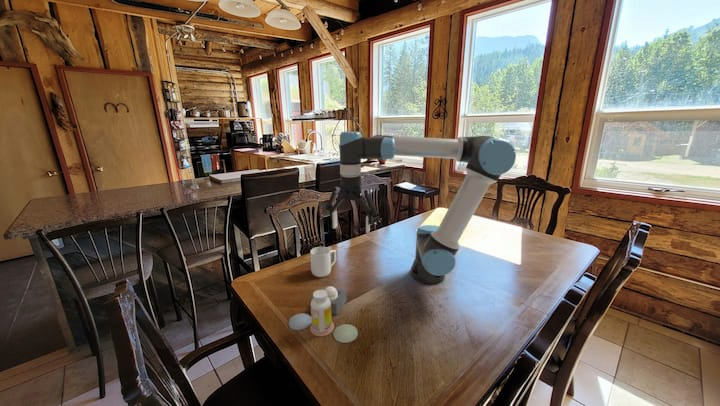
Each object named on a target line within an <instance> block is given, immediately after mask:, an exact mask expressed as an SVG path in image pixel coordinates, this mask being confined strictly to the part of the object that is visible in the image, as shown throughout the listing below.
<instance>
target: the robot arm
mask: <svg viewBox="0 0 720 406" xmlns="http://www.w3.org/2000/svg"><path fill="white" fill-rule="evenodd" d="M361 134H362V133H361V132H360V131H351V130H350V131H342V132H341V133H339V175H340V177H339V178H340V187H339V186H338V185H336V186H334V187H333V188H332V189H331V190H332V193H331V195H330V197H329V199H328V202H327V204H326V206H325V208H324V209H325V210H326V211H329V212H330V214H329V215H330V220H332V229H336V228H337V227H338V210H336V209H337V208H338V207H339V206H340V205H341V204H342V203H343V201H344V200H346V201H352V202H354V201H355V202H357V203H358V204H359V206H360V207H361V209H363V211H364V212H365V213H366V216H365V233H366V234H368V233H369V232H370V231H371V225H372V224H373V219H374V218H373V216H376V215H377V214H378V212H379V211H378V209H377V207H376V205H375V203H374V201H373V198H372V196H371V193H370V189H369V188H366V189H362V176H361V173H362V163H361V162H362V161H361V160H384V161H385V160H392V159H394V157H395V156H400V157H402V156H403V157H415V158H417V157H418V158H431V159H432V158H434V159H436V158H437V159H449V160H450V159H453V160H455V161H456V162H458V163H459V162H460V163H461V162H462V163H467V164H466V166H465V171H466V175H465V177H464V179H463V181H462V183H461V184H460V186H459V188H458V190H457V193H456V194H455V196H454V197H453V199H452V201H451V204H450V205H449V208H448V209H447V211H446V213H445V215H444V216H443V218H442V220H441V222H440V225H432V224H431V225H429V224H426V225H420V226H418V228H417V229H416V240H415V241H416V242H415V258H414V259H413V260H414V261H413V262H412V264H411V267H410V276H411V277H412V279H414V280H415V281H417V282H418V283H422V284H427V285H428V284H430V285H433V284H434V285H436V284H440V283H443V281H445V279H446V275H448V274H450V273H451V272H452V271H453V270H454V268H455V266H456V258H455V256H456V255H457V253H458V251H459V249H460V247H461V246H460V243H459V240H460V239H461V237H462V235H463V233H464V231H465V230H466V228H467V227H468V224H469V222H470V221H471V219H472V217H473V216H474V215H475V212H476V211H477V209H478V207H479V205H480V204H481V202H482V200H483V198H484V196H485V194H486V192H487V191H488V189H489V187H490V185H492V184H494V183H497V182H498V181H499V179H500V178H501V175H503V174H506V173H508V172H509V171H510V170H511V169H512V168H513V167H514V165H515V162H516V159H517V152H516V149H515V147H514V145H513V144H512V143H511V142H510V141H508V140H506V139H504V138H502V137H499V136H489V135H478V136H458V137H457V138H439V137H419V136H400V135H382V134H375V135H373V136H372V137H363V136H362V135H361ZM338 193H340V194H341V196H340V197H339V198H338V199H337V201H336V202H335V200H336V198H337V196H338ZM362 194H363V196H364V198H363V197H362ZM364 199H365V200H364ZM334 202H335V203H334ZM366 202H367V203H366Z"/></svg>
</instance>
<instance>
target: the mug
mask: <svg viewBox="0 0 720 406" xmlns="http://www.w3.org/2000/svg"><path fill="white" fill-rule="evenodd" d="M332 253H333V256H334V258H333V261H332V262H331V254H332ZM336 262H337V250H336V249H331V248H329V247H326V246H317V247H312V249H310V270H311V274H312V275H313V276H314V277H316V278H323V277H325V278H326V277H327V276H328V275H329V274H331V272H332V267H333V266H334V264H336Z"/></svg>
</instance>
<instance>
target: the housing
mask: <svg viewBox="0 0 720 406" xmlns="http://www.w3.org/2000/svg"><path fill="white" fill-rule="evenodd" d="M327 287H328V286H323V288H321V290H325V289H326V288H327ZM334 288H335V287H334ZM335 289H336V290H337V292H338V297H337V299H336V300H335V301H331V300H330V301H331V315H335V316H338V314H339V312H340V311H341V309H342V308H343V306H344V305H345V303H346V302H347V290H345V289H341V288H340V289H339V288H335Z"/></svg>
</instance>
